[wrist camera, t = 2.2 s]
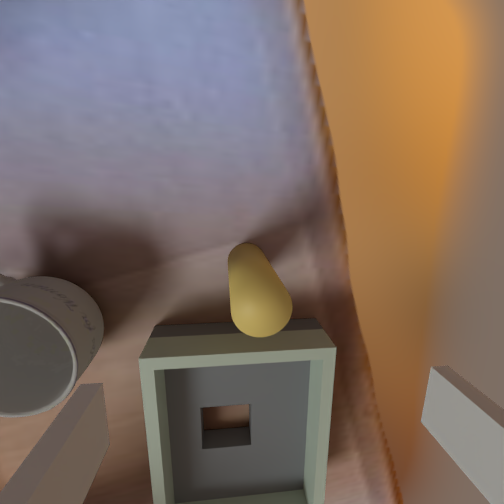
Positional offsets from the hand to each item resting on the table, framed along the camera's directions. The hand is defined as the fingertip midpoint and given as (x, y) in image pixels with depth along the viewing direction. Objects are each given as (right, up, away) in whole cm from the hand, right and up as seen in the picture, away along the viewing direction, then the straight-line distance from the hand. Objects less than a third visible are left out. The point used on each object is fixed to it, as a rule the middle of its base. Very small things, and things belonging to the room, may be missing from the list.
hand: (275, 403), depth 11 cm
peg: (-1, +5, +18) cm, 19 cm away
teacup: (-21, +1, +17) cm, 28 cm away
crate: (-3, -13, +22) cm, 26 cm away
